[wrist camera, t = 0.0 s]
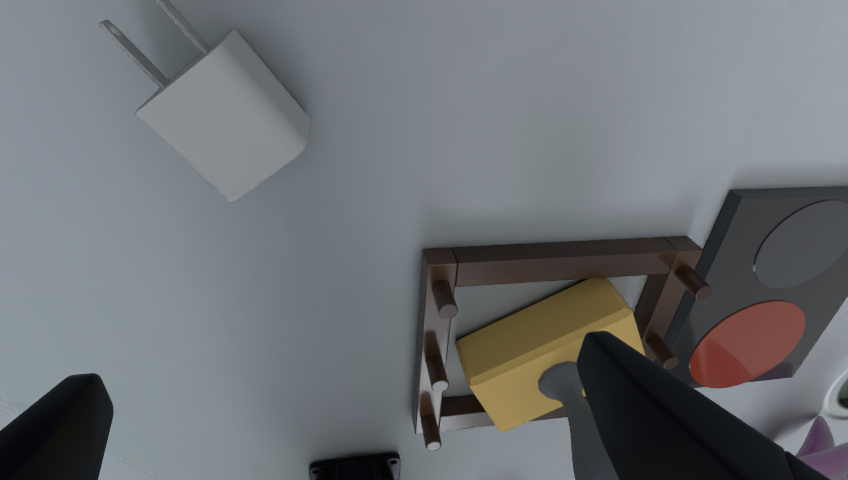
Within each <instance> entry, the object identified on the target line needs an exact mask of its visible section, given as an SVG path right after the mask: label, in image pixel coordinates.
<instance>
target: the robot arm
mask: <svg viewBox="0 0 848 480" xmlns="http://www.w3.org/2000/svg"><path fill="white" fill-rule="evenodd" d="M577 371H578V374H579V377H580V380H581V383H582V386H583V389H584V392H585V395H586V398H587V401H588V404H589V407H590V410H591V412H592V415H593V418H594V421H595V424H596V427H597V430H598V433H599V435H600V438H601V441H602V443H603V445H604V448H605V450H606V452H607V454H608V457H609V459H610V461H611V463H612V465H613V467H614V470H615V472H616V474H617V476H618V478H619V480H831V479H829V478H827V477H826V476H824V475H823V474H821V473H820V472H818V471H817V470H815V469H814V468H812V467H811V466H809V465H808V464H806V463H805V462H803V461H802V460H800V459H799V458H797V457H796V456H794V455H793V454H791V453H790V452H787V451H785V452H784V449H783V448H782V447H780V446H779V445H777V444H776V443H774V442H773V441H771V440H770V439H768V438H767V437H765V436H764V435H762V434H761V433H759V432H758V431H756V430H755V429H753V428H752V427H750V426H749V425H748V424H746V423H745V422H743V421H742V420H740V419H739V418H737V417H736V416H734V415H733V414H731V413H730V412H728V411H727V410H725V409H724V408H722V407H721V406H719V405H718V404H716V403H715V402H713V401H712V400H710V399H709V398H707V397H706V396H704V395H703V394H701V393H700V392H698V391H697V390H695V389H694V388H692V387H691V386H689V385H688V384H686V383H685V382H683V381H682V380H680V379H679V378H677V377H676V376H674V375H673V374H671V373H670V372H668V371H667V370H665V369H664V368H662V367H661V366H659V365H658V364H656V363H655V362H653V361H652V360H650V359H649V358H647V357H646V356H644V355H643V354H641V353H640V352H638V351H637V350H635V349H634V348H632V347H631V346H629V345H628V344H626V343H625V342H623V341H622V340H620V339H619V338H617V337H616V336H614V335H613V334H611V333H610V332H608V331H593V332H588V333H587V334H586V335H585V336H584V339H583V342H582V345H581V348H580V352H579V355H578V358H577ZM112 419H113V404H112V401H111V399H110V397H109V395H108V392H107V390H106V388H105V386H104V383H103V381H102V379H101V377H100V376H99V375H97V374H94V373H90V374H78V375H71V376H69V377H67V378H65V379H64V380H63V381H61V382H60V383H59V384H58V385H56V386H55V387H54V388H53V389H51V390H50V391H49V392H48V393H47V394H45V395H44V396H43V397H42V398H40V399H39V400H38V401H37V402H35V403H34V404H33V405H32V406H30V407H29V408H28V409H27V410H25V411H24V412H23V413H22V414H21V415H19V416H18V417H17V418H16V419H14V420H13V421H12V422H11V423H9V424H8V425H7V426H6V427H4V428H3V429H2V430H1V431H0V480H98V476H99V473H100V469H101V464H102V460H103V456H104V452H105V448H106V444H107V440H108V436H109V431H110V427H111V423H112ZM309 476H310V480H400V456H399V454H397V453H390V454H382V455H374V456H366V457H357V458H349V459H341V460H332V461H324V462H316V463H313V464H311V465H310V467H309Z"/></svg>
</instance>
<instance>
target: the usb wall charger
mask: <svg viewBox="0 0 848 480" xmlns="http://www.w3.org/2000/svg"><path fill="white" fill-rule="evenodd" d="M155 1H156V2H157V3H158V4H159V5H160V7H161V8H162V9H163V10H164V11H165V12H166V13H167V15H168V16H169V17H170V18H171V19H172V20H173V21H174V22H175V23H176V24H177V26H178V27H179V28H180V29H181V30H182V31H183V32H184V33H185V34H186V35H187V37H188V38H189V39H190V40H191V41H192V42H193V43H194V44H195V45H196V47H197V48H198V49H199V50H200V51H201V52H202V54H201V55H200V56H198V57H197V58H196V59H195V60H193V61H192V62H191V63H190V64H188V65H187V66H186V67H185V68H184V69H182V70H181V71H180V72H179V73H177V74H176V75H175V76H174V77H172V78H171V79H170V80H168V79H167V78H166V77H165V76H164V75H163V74H162V73H161V72H160V71H159V70H158V69H157V68H156V67H155V66H154V64H153V63H152V62H151V61H150V60H149V59H148V58H147V57H146V56H145V55H144V54H143V53H142V52H141V51H140V50H139V49H138V48H137V47H136V46H135V45H134V44H133V43H132V42H131V41H130V40H129V39H128V38H127V37H126V36H125V35H124V34H123V33H122V32H121V31H120V30H119V29H117V28H116V27H115V26H114V25H113V24H112V23H111V22H110V21H109V20H104V21H102V22H100V23H99V26H100V27H101V28H102V29H103V31H104V32H105V33H106V34H107V35H108V36H109V37H110V38H111V39H112V40H113V41H114V42H115V43H116V44H117V45H118V46H119V47H120V48H121V49H122V50H123V51H124V52H125V53H126V54H127V55H128V56H129V57H130V58H131V59H132V60H133V61H134V62H135V63H136V64H137V65H138V66H139V67H140V68H141V69H142V70H143V71H144V72H145V73H146V74H147V75H148V76H149V77H150V78H151V79H152V80H153V81H154V82H155V83H156V84H157V85H158V86H159V87H160V88H159V89H158V90H157V91H156V92H155V93H154V94H153V95H152V96H151V97H150V98H149V99H148V100H147V101H146V102H145V103H144V104H143V105H142V106H141V107H140V108H139V109H138V110H137V111H136V112H135V113H134V114H135V115H136V116H137V117H138V118H139V119H140V120H141V121H142V122H143V123H145V124H146V125H147V126H148V127H149V128H150V129H151V130H152V131H153V132H154V133H155V134H156V135H157V136H159V137H160V138H161V139H162V140H163V141H164V142H165V143H166V144H167V145H168V146H169V147H170V148H171V149H173V150H174V151H175V152H176V153H177V154H178V155H179V156H180V157H181V158H182V159H183V160H184V161H186V162H187V163H188V164H189V165H190V166H191V167H192V168H193V169H194V170H195V171H196V172H197V173H198V174H200V175H201V176H202V177H203V178H204V179H205V180H206V181H207V182H208V183H209V184H210V185H211V186H212V187H214V188H215V189H216V190H217V191H218V192H219V193H220V194H221V195H222V196H223V197H224V198H225V199H226V200H228V201H229V202H234V201H236V200H238V199H239V198H241V197H242V196H243V195H245V194H246V193H248V192H249V191H250V190H252V189H253V188H255V187H256V186H257V185H259V184H260V183H262V182H263V181H264V180H266V179H267V178H269V177H270V176H271V175H273V174H274V173H276V172H277V171H278V170H280V169H281V168H283V167H284V166H285V165H287V164H288V163H289V162H291V161H292V160H294V159H295V158H296V157H297V156H298V155H299V154H301V153H302V151H303V150H304V149H305V148H306V146H307V145H308V142H309V131H310V118H309V117H308V115H307V114H306V113H305V112H304V111H303V109H302V108H301V107H300V106H299V105H298V103H297V102H296V101H295V100H294V99H293V97H292V96H291V95H290V94H289V93H288V92H287V90H286V89H285V88H284V87H283V86H282V84H281V83H280V82H279V81H278V80H277V78H276V77H275V76H274V75H273V74H272V72H271V71H270V70H269V69H268V68H267V66H266V65H265V64H264V63H263V62H262V60H261V59H260V58H259V57H258V56H257V54H256V53H255V52H254V51H253V50H252V48H251V47H250V46H249V45H248V44H247V43H246V41H245V40H244V39H243V38H242V37H241V35H240V34H239V33H238V32H237V31H236V29H235V28H234V29H232V30H231V31H230V32H228V33H227V34H226V35H225V36H223V37H222V38H221V39H220V40H218V41H217V42H216V43H215V44H213V45H212V46H211V47H210V46H209V45H208V44H207V43H206V42H205V40H204V39H203V38H202V37H201V36H200V35H199V34H198V33H197V31H196V30H195V29H194V28H193V27H192V26H191V25H190V23H189V22H188V21H187V20H186V19H185V18H184V17H183V16H182V14H181V13H180V12H179V11H178V10H177V9H176V8H175V7H174V5H173V4H172V3H171V2H170V1H169V0H155ZM109 28H110V29H111V30H112V31H114V32H115V34H116V35H117V36H116V35H115V34H113V33H112V32H111V30H110V29H109Z"/></svg>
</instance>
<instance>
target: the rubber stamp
mask: <svg viewBox="0 0 848 480" xmlns="http://www.w3.org/2000/svg"><path fill="white" fill-rule="evenodd" d="M593 331H608V332H610V333H611V334H613V335H614V336H616V337H617V338H619V339H620V340H622V341H623V342H625V343H626V344H628V345H629V346H631V347H632V348H634V349H635V350H637V351H638V352H640V353H641V354H643V355H644V356H645V353H644V349H643V346H642V342H641V339H640V335H639V332H638V329H637V325H636V322H635V318H634V315H633V311H632V310H631V308H630V307H629V306H628V304H627V303H626V302H625V301H624V299H623V298H622V297H621V296H620V294H619V293H618V292H617V291H616V289H615V288H614V287H613V286H612V284H611V283H610V282H609V281H608V279H607V278H606V277H604V278H589V279H587V280H585V281H583V282H581V283H579V284H576V285H574V286H572V287H570V288H568V289H566V290H564V291H562V292H559V293H557V294H555V295H553V296H551V297H549V298H547V299H544V300H542V301H540V302H538V303H536V304H534V305H532V306H529V307H527V308H525V309H523V310H521V311H519V312H517V313H515V314H512V315H510V316H508V317H506V318H504V319H502V320H500V321H497V322H495V323H493V324H491V325H489V326H487V327H485V328H482V329H480V330H478V331H476V332H474V333H472V334H470V335H467V336H465V337H463V338H461V339H459V340H458V341H456V342H455V345H456V348H457V351H458V354H459V358H460V361H461V364H462V368H463V371H464V374H465V377H466V380H467V383H468V385H469V387H470V388H471V390H472V391H473V393H474V394H475V396H476V397H477V399H478V400H479V402H480V403H481V405H482V406H483V407H484V409H485V410H486V412H487V413H488V415H489V416H490V418H491V419H492V421H493V422H494V424H495V425H496V427H497V428H498V430H499V431H507V430H510V429H512V428H514V427H516V426H519V425H521V424H523V423H526V422H528V421H530V420H532V419H535V418H537V417H539V416H542V415H544V414H546V413H548V412H551V411H553V410H555V409H557V408H560V407H562V406H564V408H565V410H566V413H567V416H568V420H569V425H570V433H571V447H572V461H573V469H574V475H575V479H576V480H619V478H618V476H617V474H616V472H615V470H614V467H613V465H612V463H611V461H610V459H609V457H608V454H607V452H606V450H605V448H604V445H603V443H602V441H601V438H600V435H599V433H598V430H597V427H596V424H595V421H594V418H593V415H592V412H591V410H590V407H589V404H588V403H587V401H586V400H585V398H584V397H585V396H586V395H585V392H584V389H583V386H582V383H581V380H580V377H579V374H578V371H577V358H578V355H579V352H580V348H581V345H582V342H583V339H584V336H585V335H586V334H587V333H588V332H593Z"/></svg>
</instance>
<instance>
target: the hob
mask: <svg viewBox="0 0 848 480" xmlns="http://www.w3.org/2000/svg"><path fill="white" fill-rule="evenodd" d="M695 272H696V273H697V274H698V275H700V276H701V277H702V278H703V279H704V280H705V281H706V282H707V283H708V284H709V285H710V286H711V287H712V289H713V292H712V294H711V295H710V296H709V297H708V298H706V299H704V300H698V299H696V298H695V297H694V296H693V295H692V294H691V293H690V292H689V291H688V290H687V289H686V291H685V293H684V295H683V298H682V300H681V302H680V304H679V307H678V309H677V311H676V313H675V316H674V318H673V320H672V322H671V325H670V327H669V329H668V331H667V333H666V336H665V338H664V340H663V341H664V342H665V343H666V345H667V346H668V347H669V348H670V349H671V351H672V352H673V353H674V354H675V356H676V357H677V358H678V360H679V362H678V364H677V365H676V366H675V367H673V368H671V369H665V368H664V367H663V366H662V365H661V364H660V362H659V361H658V360H657V358H655V360H654V362H655V363H656V364H658V365H659V366H661V367H662V368H664V369H665V370H667V371H668V372H670V373H671V374H673V375H674V376H676V377H677V378H679V379H680V380H682V381H683V382H685V383H686V384H688V385H689V386H691V387H692V388H699V387H710V388H725V387H731V386H736V385H739V384H742V383H745V382H754V381H763V380H772V379H781V378H790V377H793V375H794V374H795V373H796V371H797V370H798V368H799V367H800V365H801V364H802V362H803V361H804V359H805V358H806V356H807V355H808V353H809V352H810V351H811V349H812V348H813V346H814V345H815V343H816V342H817V340H818V339H819V337H820V336H821V334H822V333H823V332H824V330H825V329H826V327H827V326H828V324H829V323H830V321H831V320H832V318H833V317H834V315H835V314H836V312H837V311H838V310H839V308H840V307H841V305H842V304H843V302H844V301H845V299H846V298H847V296H848V187H819V188H787V189H754V190H730V192H729V194H728V196H727V199H726V201H725V203H724V205H723V208H722V210H721V212H720V214H719V217H718V219H717V221H716V223H715V226H714V228H713V230H712V232H711V235H710V237H709V239H708V241H707V244H706V246H705V248H704V250H703V253H702V255H701V257H700V259H699V262H698V264H697V266H696V268H695Z"/></svg>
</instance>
